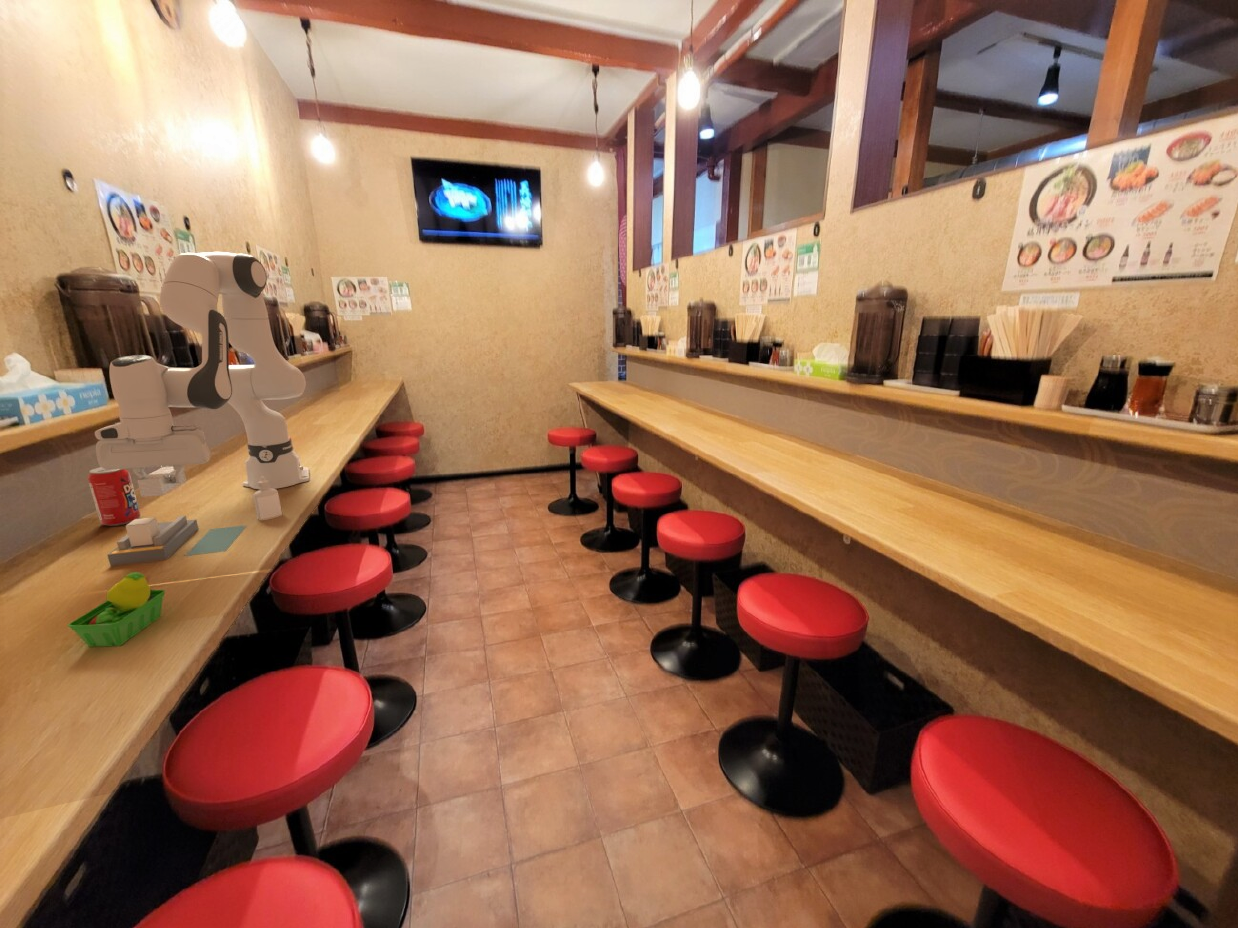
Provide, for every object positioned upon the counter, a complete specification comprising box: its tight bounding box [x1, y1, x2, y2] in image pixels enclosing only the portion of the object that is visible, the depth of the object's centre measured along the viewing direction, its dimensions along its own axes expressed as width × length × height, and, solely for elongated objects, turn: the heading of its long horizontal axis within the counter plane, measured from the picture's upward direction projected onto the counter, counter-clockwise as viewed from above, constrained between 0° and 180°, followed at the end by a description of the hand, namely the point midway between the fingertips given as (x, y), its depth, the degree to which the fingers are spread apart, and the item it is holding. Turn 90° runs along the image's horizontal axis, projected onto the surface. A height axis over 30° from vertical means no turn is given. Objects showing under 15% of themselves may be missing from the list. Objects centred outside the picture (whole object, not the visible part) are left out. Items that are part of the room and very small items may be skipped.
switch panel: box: [107, 515, 199, 567], centre depth 121 cm, size 18×10×5 cm, turn 20°
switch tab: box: [125, 516, 160, 547], centre depth 116 cm, size 4×4×5 cm
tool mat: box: [184, 524, 248, 557], centre depth 125 cm, size 16×8×1 cm, turn 20°
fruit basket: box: [67, 571, 166, 648], centre depth 88 cm, size 11×9×11 cm
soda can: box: [87, 467, 142, 527], centre depth 133 cm, size 8×8×15 cm
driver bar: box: [136, 466, 187, 498], centre depth 120 cm, size 12×4×4 cm, turn 19°
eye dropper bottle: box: [252, 477, 283, 521], centre depth 138 cm, size 4×6×12 cm
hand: (163, 483), depth 120 cm, fingers closed on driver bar, 4 cm apart
